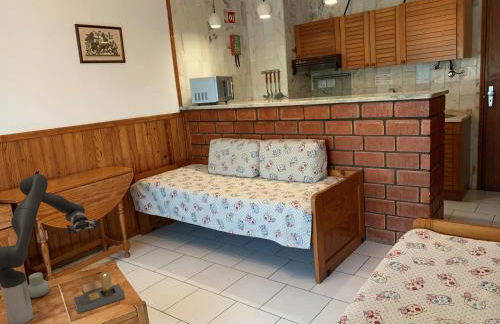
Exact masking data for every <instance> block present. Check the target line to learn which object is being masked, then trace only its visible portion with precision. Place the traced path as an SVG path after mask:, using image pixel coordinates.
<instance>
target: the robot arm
mask: <svg viewBox="0 0 500 324" xmlns="http://www.w3.org/2000/svg"><path fill="white" fill-rule="evenodd" d="M48 182H49V181H48V179H47V177H46V175H44V174H42V173H36V174H33V175H30V176H28V177H26V178H24V179H22V180H21V181H20V182H19V184H18V186H19V190H20V192H21V193H22V194H23V195H25V197H24V199H22V201H21V202H19V204H18V205H17V206H16V208H15V210H14V211H13V214H12V216H11V220H10V224H11V227H12V229H13V231H14V232H15V235H16V237H17V241H16V243H15V244H14V245H5V246H0V287H1V293H2V298H3V302H4V309H5V313H6V314H5V315H6V318H7V323H8V324H27V323H29V322H30V321H31V320H33V319H34V316H35V315H34V310H33V306H32V300H31V297H30V295H29V290H28V282H27V277H26V273H24V272H23V271H20V270H17V269H16V268H21V267H22V266H23V265H24V263H25V262H26V259H27V255H28V249H29V244H30V239H31V235H32V232H33V229H34V226H35V224H36V220H37V217H38V211H39V209H40V206H41V203H43V204H46V205H48V206H50V207H52V208H54V209H55V210H56V211H58V212H60V213H61V214H65V215H64V216H65V219H66V221H67V222H69V223H71V225H70V224H67V225H66V228H67V234H71V233H72V234H74V235H77V232H79V231H84V230H86V229H91V228H92V229H93V230H96V229H97V227H99V226H100V225H99V221H98V219H97V218H93V220H89V219H88V217H87V216H86V215H85V213H86V209H85V207H84V206H83V205H81V204H79V203H74V202H72V201H69V200H68V199H67V198H65V197H64V196H62V195H59V194H55V193H51V192H47V190H48V185H49V183H48Z"/></svg>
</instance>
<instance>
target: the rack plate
mask: <svg viewBox="0 0 500 324" xmlns="http://www.w3.org/2000/svg"><path fill="white" fill-rule="evenodd" d="M112 288H113V294H110V295H107V296H104V297H103V291H102V289H100V290H97V291H94V292H90V293H87V294H84V293H83V294H81V295H77V296H74V297H73V302H74V305H75V308H76V312H77V314H78V315H80V314H83V313H86V312H88V311H91V310H95V309H97V308H99V307H103V306H106V305H109V304H111V303H115V302H117V301H121V300H124V299H125V298H126V295H125V291H124V290H123V288H122V286H121V285H120V283H116V284H114V285H113V284H112Z"/></svg>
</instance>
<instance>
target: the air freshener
mask: <svg viewBox="0 0 500 324" xmlns="http://www.w3.org/2000/svg"><path fill="white" fill-rule="evenodd" d="M28 281H29V284H27V286H28V290H29V295H30V298H39V297H42V296H45V295H46V294H47V293H48V292H49V291H50V290H51V287H50V283H49V281H47V280H45V279H44V275H43V273H42V272H39V271H38V272H34V273H31V274H30V275H29V276H28Z"/></svg>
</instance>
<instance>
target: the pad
mask: <svg viewBox="0 0 500 324" xmlns="http://www.w3.org/2000/svg"><path fill="white" fill-rule="evenodd" d="M100 289H102V285H101V281H100V280H96V281H92V282H90V283H89V282H88V283H85V284H83V285H81V291H82V293H83V295H84V294H87V293H90V292H94V291H97V290H100Z"/></svg>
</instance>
